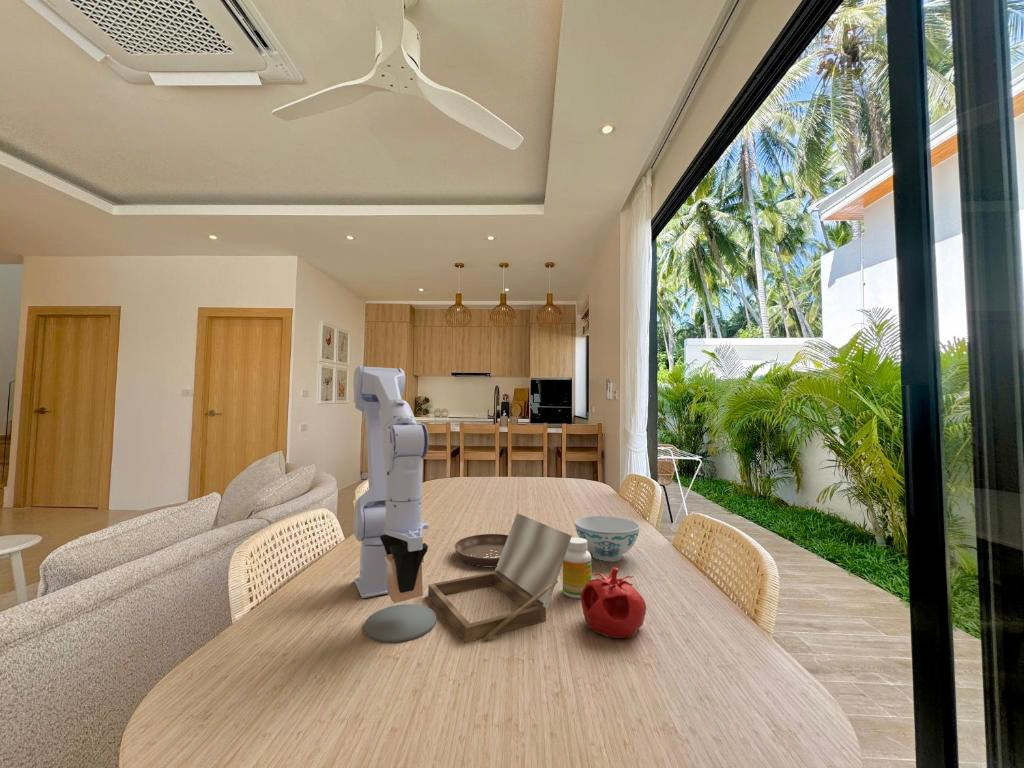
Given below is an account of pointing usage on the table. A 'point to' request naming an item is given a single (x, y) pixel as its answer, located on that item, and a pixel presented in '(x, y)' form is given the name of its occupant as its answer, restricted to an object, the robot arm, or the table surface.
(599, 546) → the chinaware
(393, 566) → the orange block with dome
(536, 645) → the table surface
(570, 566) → the supplement bottle
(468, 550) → the plant saucer
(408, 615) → the mat
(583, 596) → the hollow red tomato
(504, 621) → the cold frame
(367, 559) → the robot arm
